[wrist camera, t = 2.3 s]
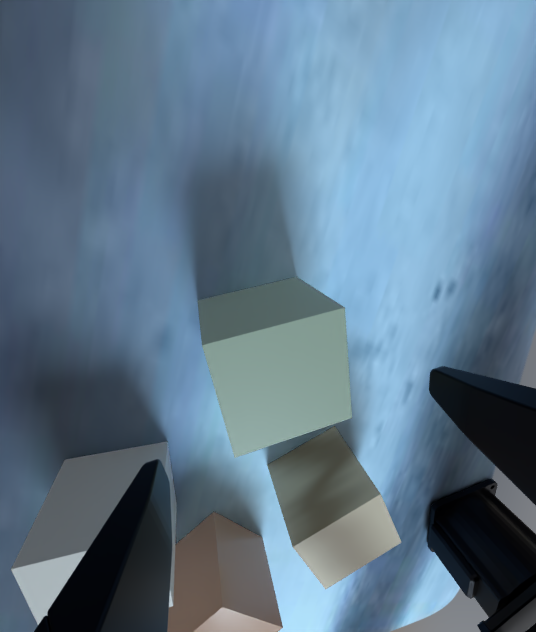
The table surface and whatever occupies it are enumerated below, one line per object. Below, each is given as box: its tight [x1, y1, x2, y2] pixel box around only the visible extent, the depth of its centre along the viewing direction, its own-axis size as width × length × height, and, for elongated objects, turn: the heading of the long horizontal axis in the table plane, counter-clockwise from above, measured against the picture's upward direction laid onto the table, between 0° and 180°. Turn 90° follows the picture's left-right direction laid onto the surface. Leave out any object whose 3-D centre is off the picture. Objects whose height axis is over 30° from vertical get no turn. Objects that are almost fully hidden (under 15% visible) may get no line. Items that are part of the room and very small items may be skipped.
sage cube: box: [198, 277, 352, 458], centre depth 13 cm, size 5×5×5 cm
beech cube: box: [267, 426, 401, 589], centre depth 17 cm, size 5×5×5 cm
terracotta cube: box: [167, 512, 283, 632], centre depth 18 cm, size 5×5×5 cm
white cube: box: [11, 441, 177, 625], centre depth 14 cm, size 5×5×5 cm
